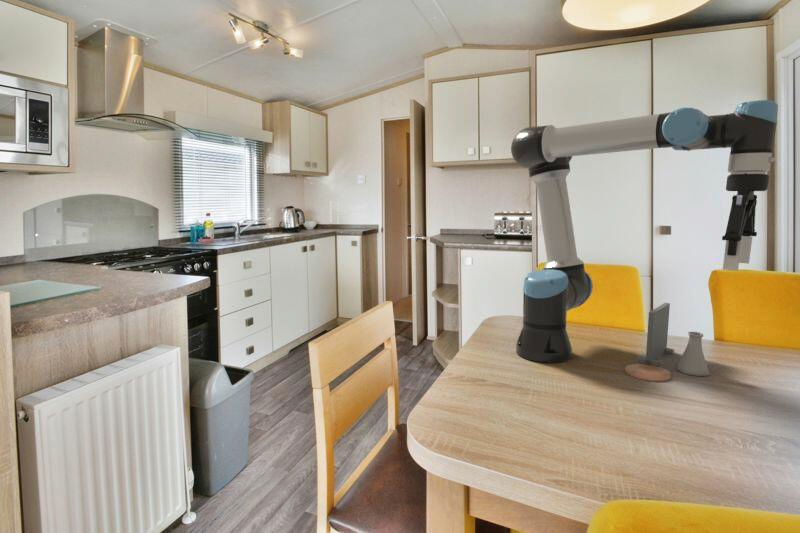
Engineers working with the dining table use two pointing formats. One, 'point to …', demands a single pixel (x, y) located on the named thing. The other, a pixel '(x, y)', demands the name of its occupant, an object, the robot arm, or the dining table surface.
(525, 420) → the dining table surface
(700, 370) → the flask
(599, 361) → the dining table surface
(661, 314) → the screen
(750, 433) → the dining table surface
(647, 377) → the coaster
